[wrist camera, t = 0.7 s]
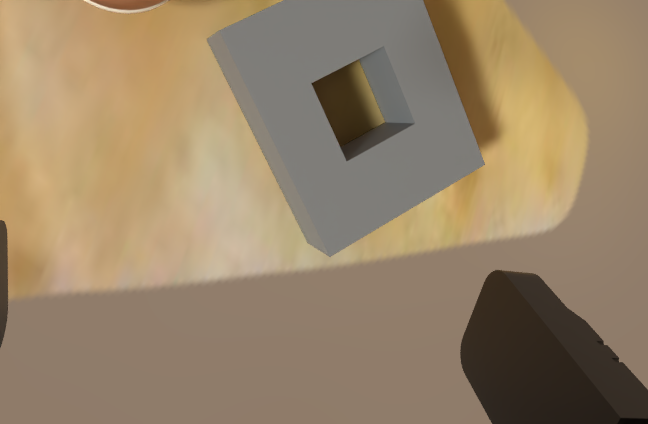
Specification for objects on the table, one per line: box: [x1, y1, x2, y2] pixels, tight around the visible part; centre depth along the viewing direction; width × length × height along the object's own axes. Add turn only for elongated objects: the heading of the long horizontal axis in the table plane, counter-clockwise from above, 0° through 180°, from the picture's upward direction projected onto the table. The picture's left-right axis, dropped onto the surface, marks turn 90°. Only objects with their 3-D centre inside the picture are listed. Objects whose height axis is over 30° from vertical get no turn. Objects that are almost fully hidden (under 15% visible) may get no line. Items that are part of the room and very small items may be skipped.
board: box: [207, 0, 485, 257], centre depth 31 cm, size 12×10×4 cm
